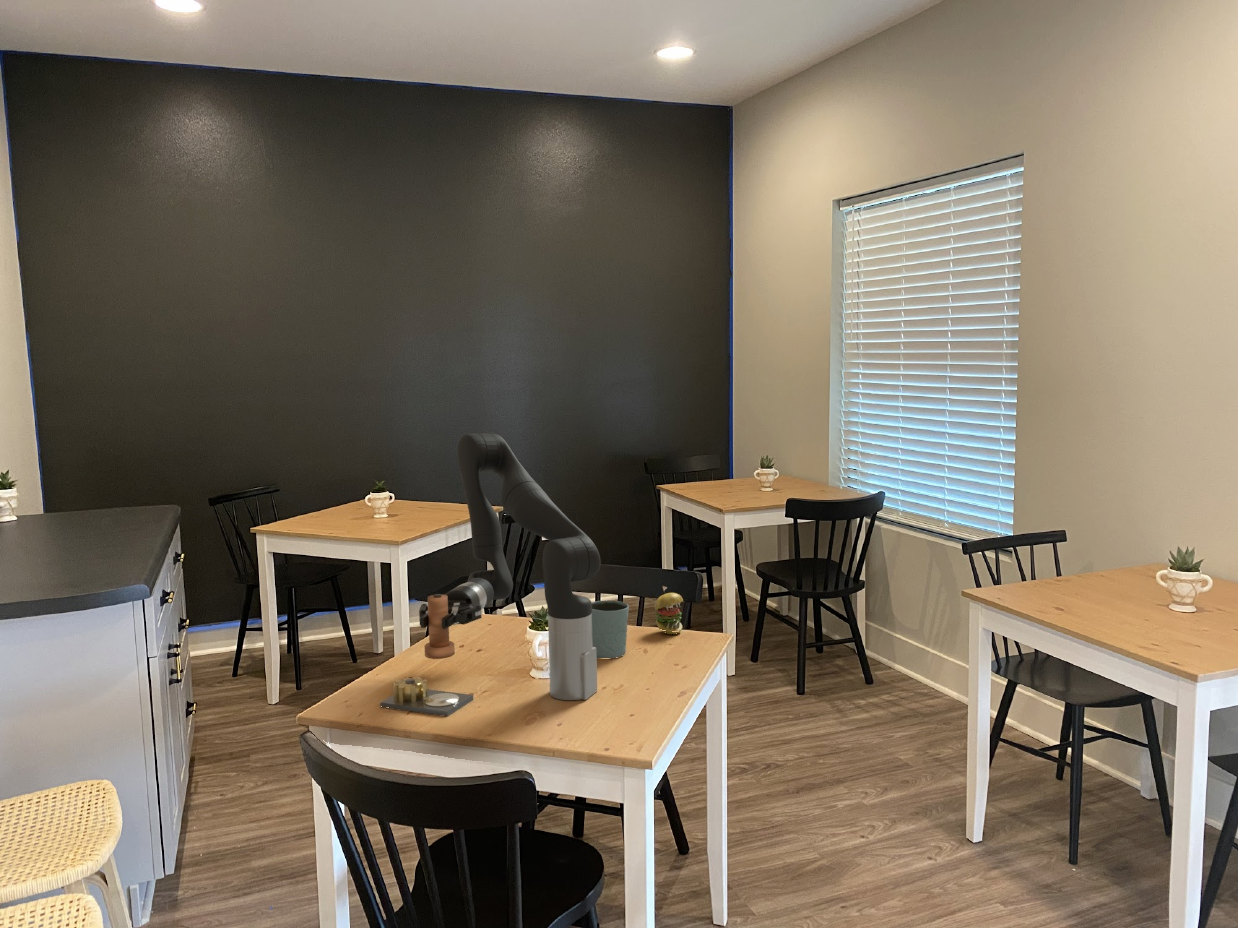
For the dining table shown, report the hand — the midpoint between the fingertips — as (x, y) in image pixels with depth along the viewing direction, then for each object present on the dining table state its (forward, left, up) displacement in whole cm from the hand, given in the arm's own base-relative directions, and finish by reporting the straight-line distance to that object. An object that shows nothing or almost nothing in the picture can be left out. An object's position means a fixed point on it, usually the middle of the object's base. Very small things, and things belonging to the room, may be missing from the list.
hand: (433, 623), depth 183 cm
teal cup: (-19, -46, -18) cm, 53 cm away
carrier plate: (+4, -3, -18) cm, 18 cm away
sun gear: (+8, -3, -18) cm, 20 cm away
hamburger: (-27, -68, -18) cm, 75 cm away
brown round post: (0, -3, -7) cm, 8 cm away
